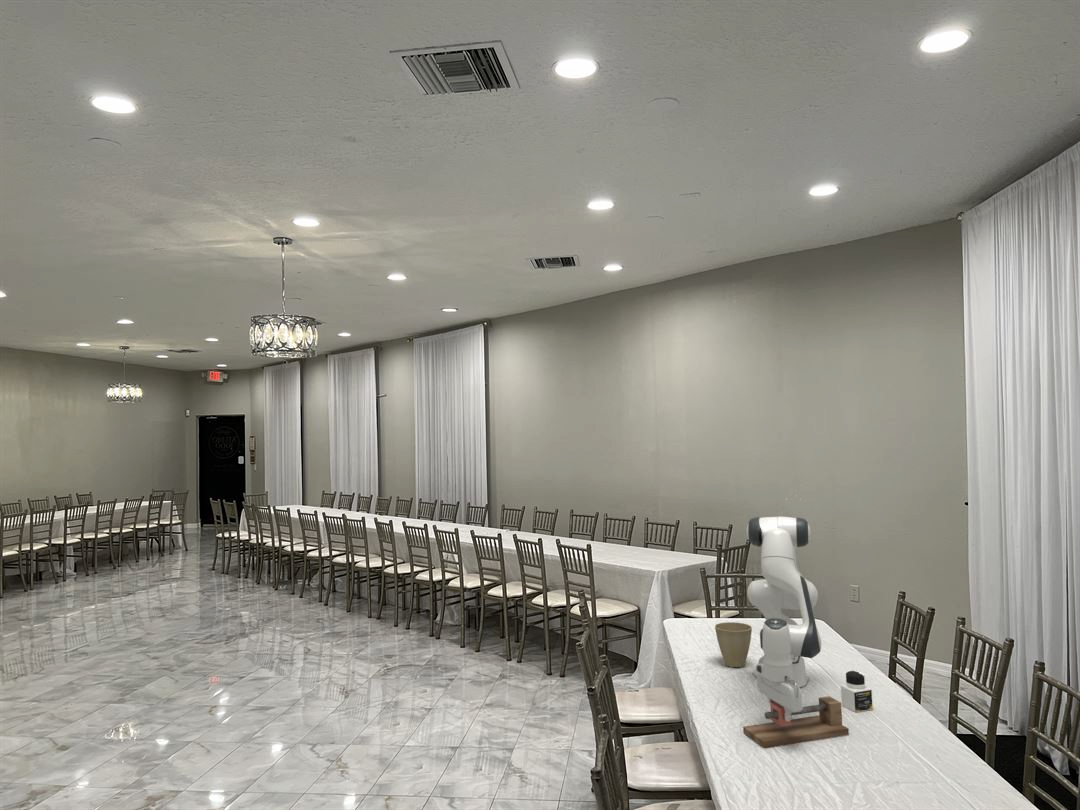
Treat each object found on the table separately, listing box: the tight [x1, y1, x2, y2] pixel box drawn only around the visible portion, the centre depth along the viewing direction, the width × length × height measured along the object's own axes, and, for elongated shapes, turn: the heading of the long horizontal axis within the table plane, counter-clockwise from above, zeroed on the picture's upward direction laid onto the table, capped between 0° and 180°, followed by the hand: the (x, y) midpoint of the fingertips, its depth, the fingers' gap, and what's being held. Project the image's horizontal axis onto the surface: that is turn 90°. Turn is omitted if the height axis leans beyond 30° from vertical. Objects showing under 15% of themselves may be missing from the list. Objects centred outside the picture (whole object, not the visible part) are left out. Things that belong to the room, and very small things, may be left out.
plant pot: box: [714, 621, 753, 668], centre depth 297 cm, size 15×15×16 cm
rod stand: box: [742, 695, 850, 749], centre depth 228 cm, size 12×30×9 cm, turn 104°
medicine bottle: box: [840, 670, 874, 713], centre depth 247 cm, size 7×7×12 cm
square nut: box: [769, 702, 791, 727], centre depth 227 cm, size 6×4×6 cm, turn 14°
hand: (780, 716), depth 227 cm, fingers closed on square nut, 6 cm apart
